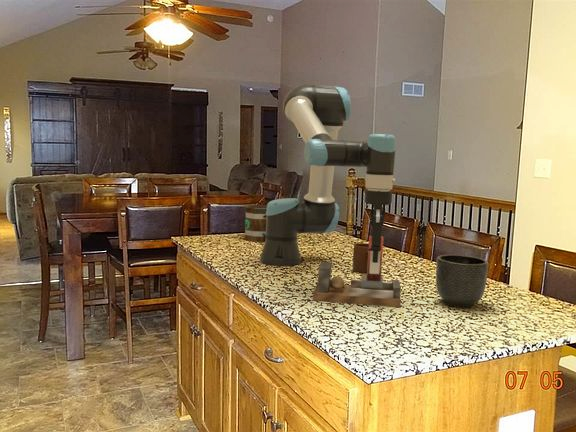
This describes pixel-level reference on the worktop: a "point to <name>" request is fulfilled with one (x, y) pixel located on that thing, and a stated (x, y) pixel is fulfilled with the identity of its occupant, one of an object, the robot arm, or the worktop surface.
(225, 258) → the worktop surface
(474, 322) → the worktop surface
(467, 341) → the worktop surface
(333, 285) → the walnut
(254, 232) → the mug
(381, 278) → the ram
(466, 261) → the planter
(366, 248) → the mug
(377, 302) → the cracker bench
